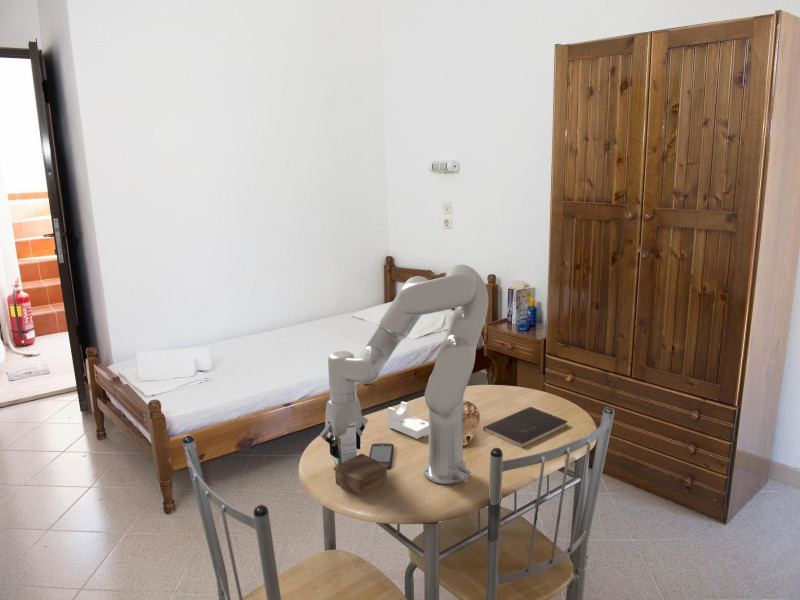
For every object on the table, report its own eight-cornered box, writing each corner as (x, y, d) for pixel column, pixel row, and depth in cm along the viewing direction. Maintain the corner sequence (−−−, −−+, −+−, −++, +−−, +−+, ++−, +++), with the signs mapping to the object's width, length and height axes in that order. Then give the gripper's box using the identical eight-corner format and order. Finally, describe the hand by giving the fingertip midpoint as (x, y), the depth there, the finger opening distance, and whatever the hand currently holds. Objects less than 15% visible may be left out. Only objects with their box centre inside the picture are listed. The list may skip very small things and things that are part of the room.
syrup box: (333, 463, 186) (330, 418, 182) (352, 459, 188) (350, 414, 184) (338, 472, 181) (336, 426, 177) (358, 468, 183) (356, 422, 179)
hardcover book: (567, 427, 207) (567, 421, 206) (521, 449, 193) (521, 443, 192) (529, 412, 219) (529, 406, 218) (483, 432, 205) (483, 425, 204)
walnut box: (388, 482, 175) (387, 465, 174) (360, 498, 168) (359, 480, 167) (362, 469, 183) (361, 453, 181) (334, 484, 175) (333, 467, 174)
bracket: (388, 429, 208) (387, 407, 206) (403, 422, 213) (402, 401, 211) (417, 441, 199) (416, 419, 197) (432, 433, 204) (431, 412, 202)
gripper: (359, 383, 187) (361, 438, 191) (309, 399, 176) (313, 457, 180) (375, 390, 181) (377, 447, 185) (324, 407, 170) (327, 467, 175)
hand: (345, 451), depth 183 cm, fingers closed on syrup box, 7 cm apart
